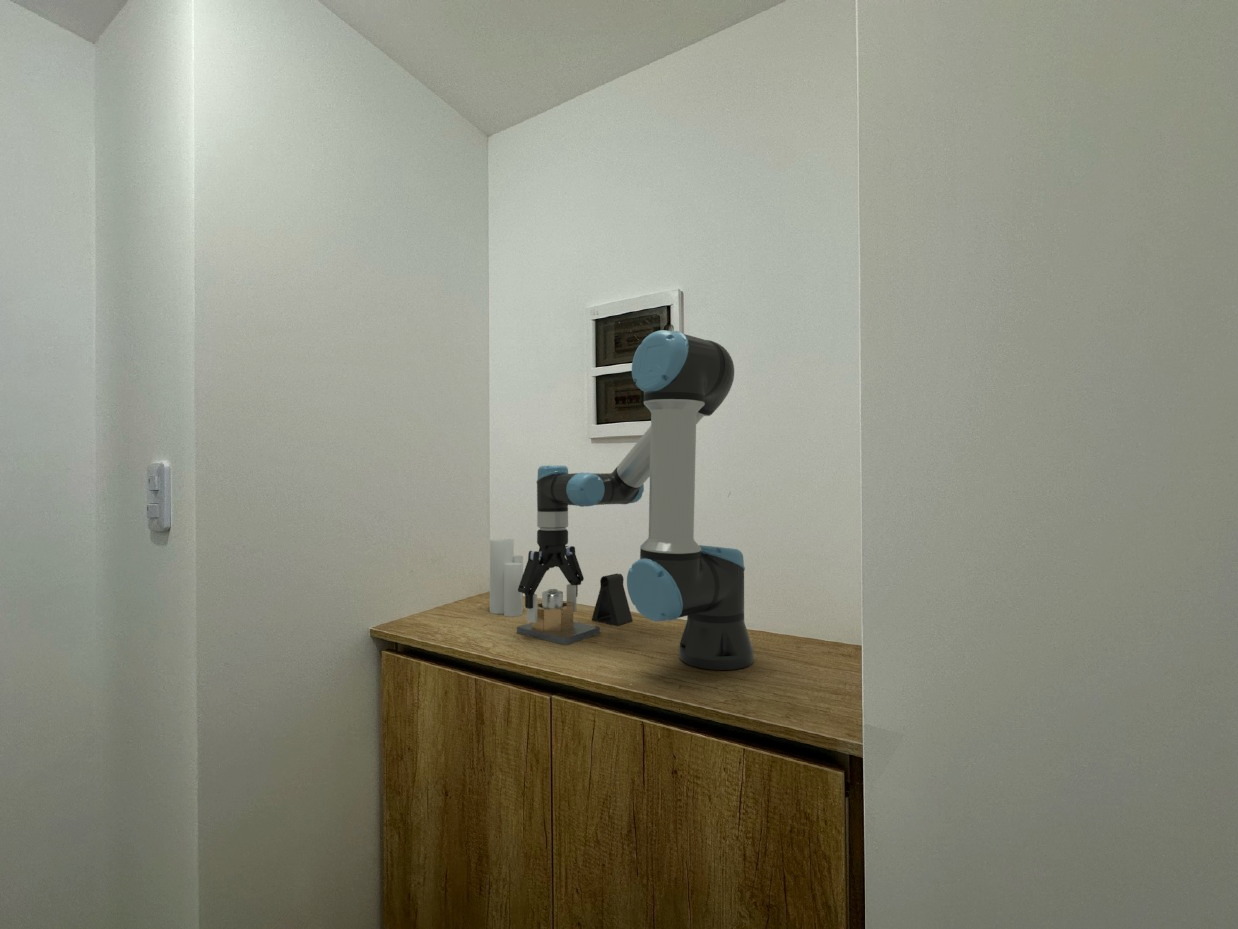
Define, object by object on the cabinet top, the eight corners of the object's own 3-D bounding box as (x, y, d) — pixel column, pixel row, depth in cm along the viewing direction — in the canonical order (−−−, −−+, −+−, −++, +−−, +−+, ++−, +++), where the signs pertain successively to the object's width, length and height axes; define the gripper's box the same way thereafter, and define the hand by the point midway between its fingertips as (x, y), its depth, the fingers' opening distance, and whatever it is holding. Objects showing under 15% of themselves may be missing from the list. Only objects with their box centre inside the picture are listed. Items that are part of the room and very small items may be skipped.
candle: (484, 612, 155) (484, 540, 156) (503, 607, 161) (503, 538, 162) (513, 617, 149) (514, 542, 150) (532, 612, 155) (532, 540, 156)
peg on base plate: (599, 633, 134) (599, 591, 134) (565, 645, 124) (565, 599, 124) (552, 623, 143) (552, 583, 144) (517, 633, 134) (517, 591, 134)
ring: (581, 624, 136) (581, 604, 136) (552, 633, 128) (552, 611, 128) (552, 618, 142) (552, 598, 142) (522, 626, 134) (522, 605, 134)
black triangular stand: (591, 620, 146) (591, 574, 146) (606, 616, 151) (606, 571, 151) (617, 626, 140) (617, 578, 140) (632, 621, 145) (632, 575, 145)
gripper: (575, 524, 148) (575, 605, 147) (502, 531, 128) (502, 624, 127) (597, 526, 143) (597, 609, 143) (525, 533, 123) (524, 629, 123)
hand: (552, 616), depth 135 cm, fingers open, 13 cm apart
